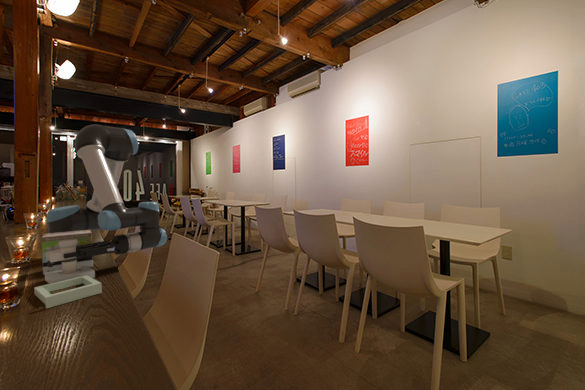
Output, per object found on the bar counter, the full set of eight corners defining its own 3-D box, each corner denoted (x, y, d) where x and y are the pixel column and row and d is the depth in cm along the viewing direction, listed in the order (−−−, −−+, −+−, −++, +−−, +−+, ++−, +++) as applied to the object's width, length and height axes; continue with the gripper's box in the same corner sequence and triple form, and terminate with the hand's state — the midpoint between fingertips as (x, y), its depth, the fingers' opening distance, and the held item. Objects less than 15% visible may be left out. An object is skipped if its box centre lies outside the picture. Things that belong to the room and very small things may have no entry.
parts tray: (34, 297, 82) (34, 287, 82) (87, 283, 92) (86, 275, 92) (46, 308, 74) (45, 297, 74) (101, 292, 85) (101, 282, 84)
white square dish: (45, 283, 94) (44, 273, 94) (84, 274, 103) (83, 264, 102) (54, 290, 87) (53, 279, 87) (95, 279, 96) (94, 270, 96)
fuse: (58, 278, 94) (56, 240, 94) (76, 274, 98) (74, 238, 98) (63, 281, 91) (60, 242, 91) (81, 277, 95) (79, 240, 95)
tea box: (42, 277, 100) (40, 237, 99) (44, 271, 107) (41, 233, 107) (94, 268, 109) (91, 231, 108) (92, 263, 117) (90, 228, 116)
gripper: (136, 256, 104) (56, 273, 85) (117, 249, 114) (42, 264, 95) (135, 236, 103) (54, 249, 85) (116, 231, 114) (40, 242, 95)
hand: (48, 257), depth 90 cm, fingers closed on fuse, 4 cm apart
